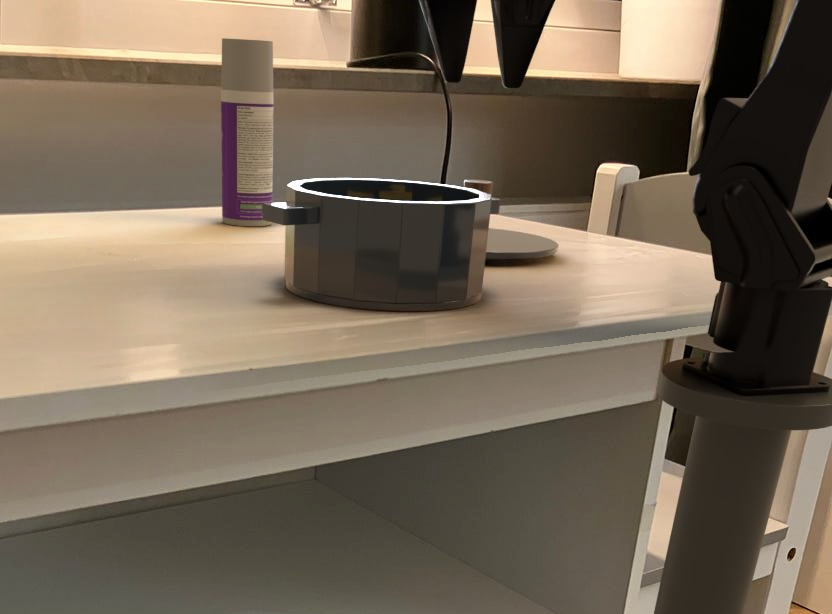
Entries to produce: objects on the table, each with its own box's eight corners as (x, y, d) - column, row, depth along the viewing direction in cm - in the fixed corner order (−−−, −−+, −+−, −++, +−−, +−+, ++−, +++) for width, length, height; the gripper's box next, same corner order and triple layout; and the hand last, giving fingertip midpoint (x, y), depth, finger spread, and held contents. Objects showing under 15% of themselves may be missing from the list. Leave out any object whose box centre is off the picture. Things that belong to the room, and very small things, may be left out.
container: (217, 218, 100) (215, 38, 93) (265, 219, 102) (267, 41, 94) (227, 226, 96) (226, 38, 89) (277, 226, 98) (280, 41, 91)
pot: (548, 297, 74) (561, 198, 71) (335, 323, 64) (340, 208, 60) (419, 265, 83) (426, 176, 80) (215, 283, 73) (214, 181, 69)
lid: (592, 260, 90) (603, 189, 87) (469, 271, 82) (477, 194, 79) (473, 234, 100) (479, 170, 97) (353, 243, 92) (356, 173, 89)
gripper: (723, -231, 56) (666, 97, 64) (555, -174, 71) (525, 85, 79) (537, -262, 53) (500, 89, 60) (402, -195, 68) (386, 78, 76)
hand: (480, 85), depth 69 cm, fingers open, 9 cm apart
